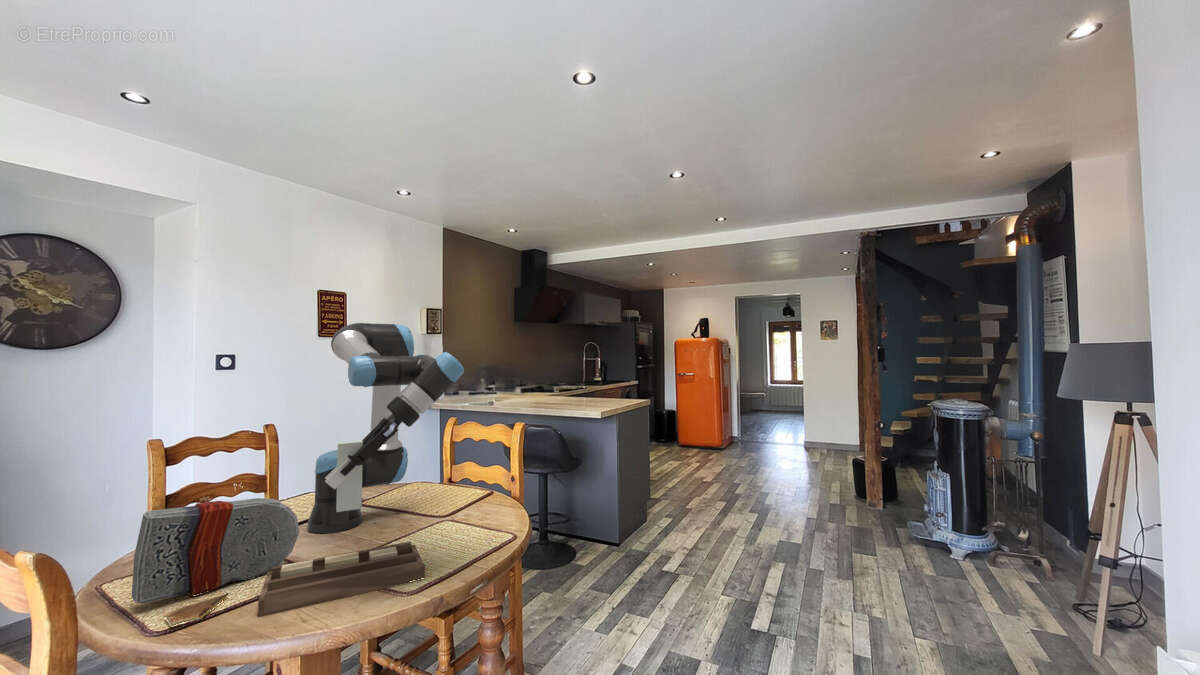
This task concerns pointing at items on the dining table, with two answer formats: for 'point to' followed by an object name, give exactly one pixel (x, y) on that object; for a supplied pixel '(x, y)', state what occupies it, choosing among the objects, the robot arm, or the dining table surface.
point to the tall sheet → (349, 479)
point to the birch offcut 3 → (382, 553)
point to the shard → (193, 610)
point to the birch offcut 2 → (341, 560)
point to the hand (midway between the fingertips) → (330, 483)
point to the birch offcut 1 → (296, 569)
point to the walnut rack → (339, 579)
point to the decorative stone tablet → (209, 546)
